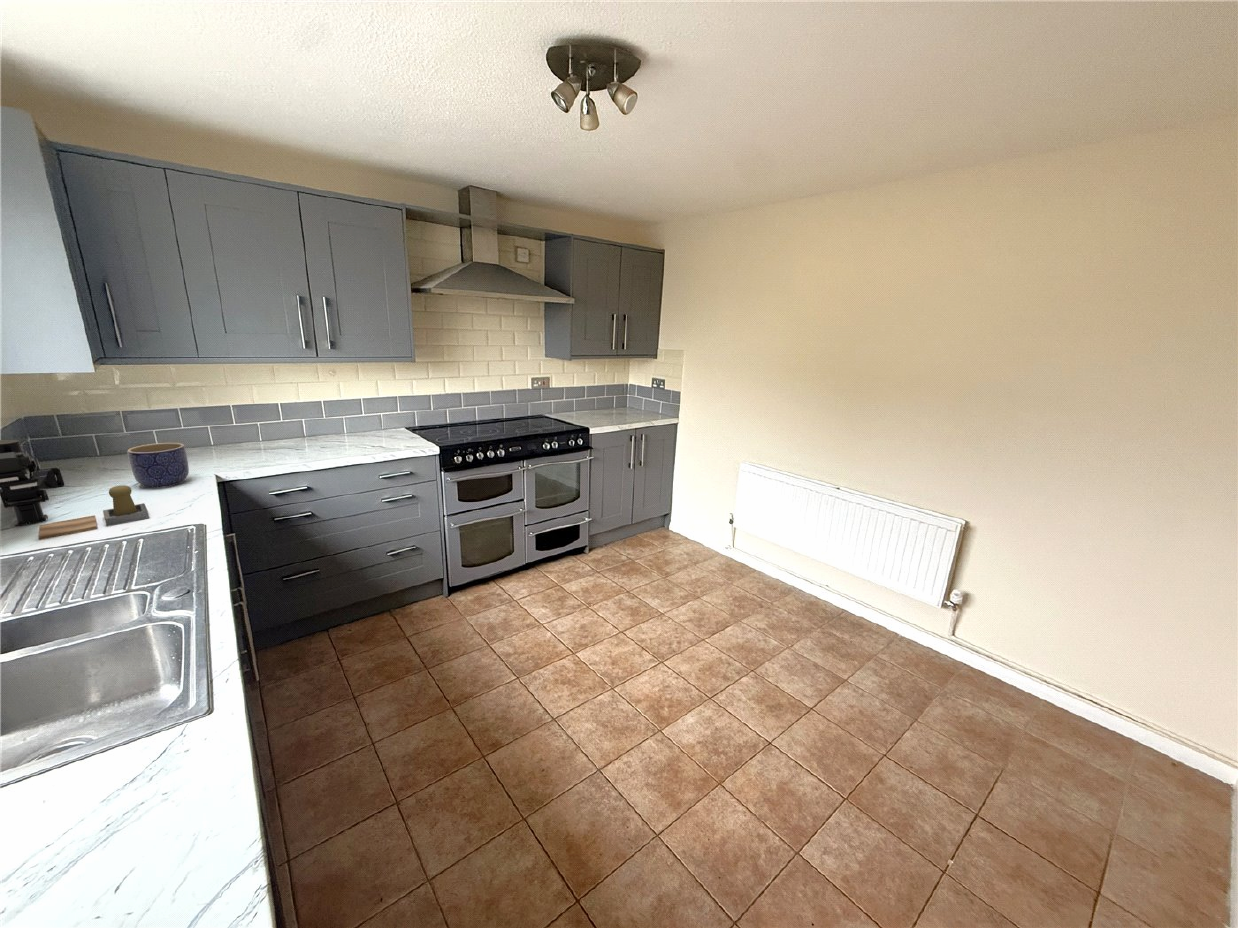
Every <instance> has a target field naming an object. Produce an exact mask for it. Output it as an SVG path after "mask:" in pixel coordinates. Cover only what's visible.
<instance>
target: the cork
mask: <svg viewBox="0 0 1238 928" xmlns="http://www.w3.org/2000/svg"><path fill="white" fill-rule="evenodd" d="M131 494H132V488H131V486H129V485H127V484H126V485H123V484H122V485H115V486H113V487H111V488H109V490H108V495H109V496H110V497H111V498H112V506H113V508H114V516H118V515H124V514H129V513H135V512H138V511H137V509H136V506H135V505H136V504H135V503H134V500H133V498H132V496H131ZM113 508H112V509H113Z"/></svg>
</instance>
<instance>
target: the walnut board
mask: <svg viewBox="0 0 1238 928" xmlns="http://www.w3.org/2000/svg"><path fill="white" fill-rule="evenodd" d="M94 530H98V524H97V517H96V515H94V514H93V515H90V516H89V515H88V516H84V517H78V518H71V519H66V520H62V521H61V520H60V521H55V522H50V523H44V524H39V525H38V536H37V537H38V540H39V541H41V540H46V539H51V538H57V537H64V536H67V535H73V534H77V533H84V532H88V531H94Z"/></svg>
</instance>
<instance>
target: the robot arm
mask: <svg viewBox="0 0 1238 928" xmlns="http://www.w3.org/2000/svg"><path fill="white" fill-rule="evenodd" d="M20 442H21V441H20V440H19V439H1V440H0V499H1V501H2V504H3V507H4V509H7V508H12V510H13V513H14V516H15V521H14V527H19V526H25V525H26V526H27V525H31V524H36V523H37V524H38V523H43V522H44V523H45V522H47V519H48V515H47V514H44V512H43V508H42V505H41V503H46V501H49V500H50V499H49V495H48V492H47V491H48V490H53V489H59V488H64V487H65V485H66V484H65V481H64V477H63V474H62V472H61V469H60V467H58V466H56V465H55V466H48V467H42V468H41V465H40V463H39V460H38V458H37V457H35V456H32V455H30V454H29V453H28V451H27V450H23V448H22V445H21V443H20Z"/></svg>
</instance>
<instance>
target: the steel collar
mask: <svg viewBox="0 0 1238 928" xmlns="http://www.w3.org/2000/svg"><path fill="white" fill-rule="evenodd" d="M135 506H136V509H137V511H138V512H135V513H129V514H124V515H118V516H114V508H108V509H102V512H103V519H104V521H105V526H106V527H111V526H115V525H122V524H127V523H132V522H137V521H141V520H147V519H150V515H149V511H148V508H147V506H146V504H145V502H143V503H138V504H135Z"/></svg>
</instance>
